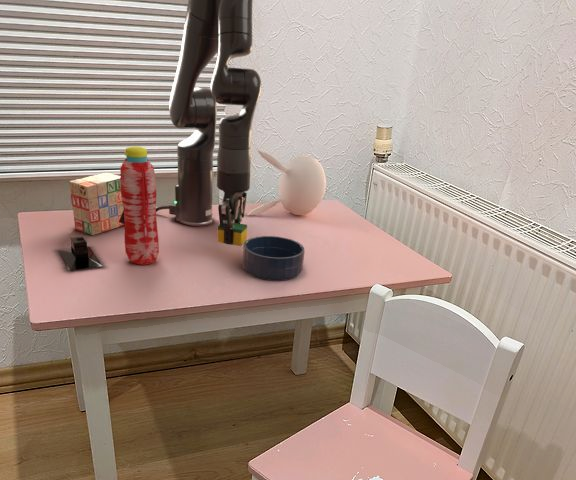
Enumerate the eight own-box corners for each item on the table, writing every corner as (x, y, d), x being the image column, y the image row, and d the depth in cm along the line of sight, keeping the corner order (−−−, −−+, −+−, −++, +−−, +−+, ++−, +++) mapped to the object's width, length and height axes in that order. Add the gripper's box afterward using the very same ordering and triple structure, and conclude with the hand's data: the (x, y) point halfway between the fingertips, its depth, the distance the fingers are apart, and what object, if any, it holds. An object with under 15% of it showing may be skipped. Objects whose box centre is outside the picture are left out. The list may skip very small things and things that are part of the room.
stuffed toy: (329, 154, 172) (250, 140, 163) (347, 169, 162) (263, 156, 153) (313, 214, 183) (238, 204, 173) (328, 232, 173) (249, 223, 163)
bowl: (234, 274, 132) (235, 251, 129) (253, 253, 144) (254, 232, 141) (293, 285, 130) (296, 262, 127) (308, 263, 141) (310, 242, 138)
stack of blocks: (135, 211, 162) (132, 166, 156) (151, 216, 160) (149, 171, 153) (74, 229, 147) (68, 180, 140) (92, 235, 144) (86, 185, 138)
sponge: (217, 242, 139) (217, 226, 137) (223, 236, 142) (223, 220, 140) (241, 246, 138) (241, 230, 136) (246, 240, 141) (247, 224, 139)
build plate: (103, 268, 129) (101, 248, 126) (69, 272, 126) (66, 251, 123) (89, 247, 138) (87, 228, 135) (57, 251, 135) (54, 231, 132)
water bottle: (117, 250, 138) (107, 139, 124) (150, 247, 141) (144, 139, 127) (130, 270, 129) (121, 153, 115) (165, 266, 133) (160, 152, 119)
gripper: (228, 159, 137) (227, 229, 146) (206, 172, 125) (206, 247, 135) (258, 163, 136) (255, 234, 145) (239, 177, 124) (237, 252, 133)
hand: (231, 240), depth 140 cm, fingers closed on sponge, 4 cm apart
